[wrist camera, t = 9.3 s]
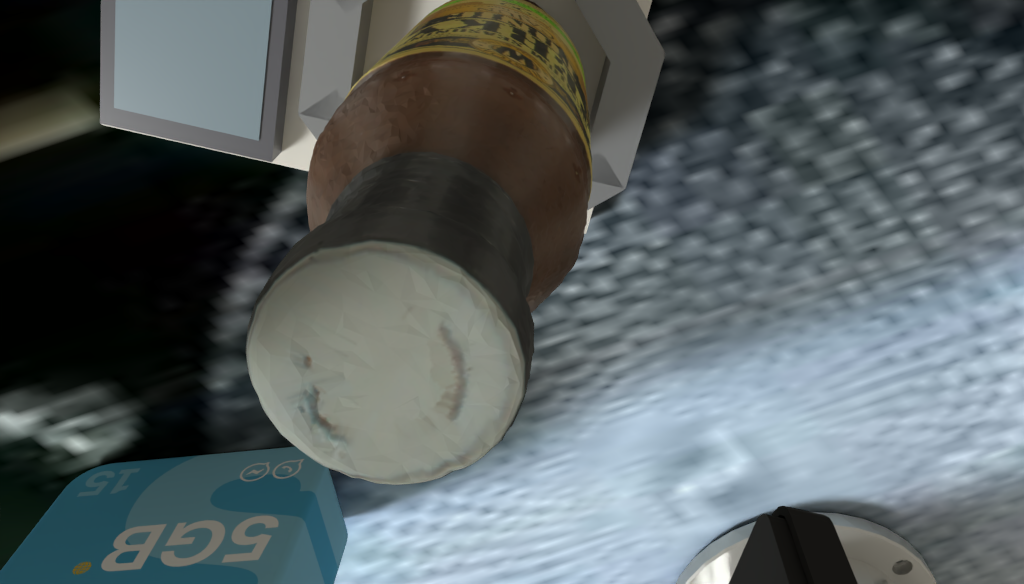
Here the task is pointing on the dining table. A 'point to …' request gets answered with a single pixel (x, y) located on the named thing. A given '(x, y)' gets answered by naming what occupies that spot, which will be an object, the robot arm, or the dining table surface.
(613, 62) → the grey shallow tray
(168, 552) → the data package
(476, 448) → the sauce bottle
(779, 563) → the robot arm
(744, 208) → the dining table surface
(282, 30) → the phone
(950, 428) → the dining table surface
